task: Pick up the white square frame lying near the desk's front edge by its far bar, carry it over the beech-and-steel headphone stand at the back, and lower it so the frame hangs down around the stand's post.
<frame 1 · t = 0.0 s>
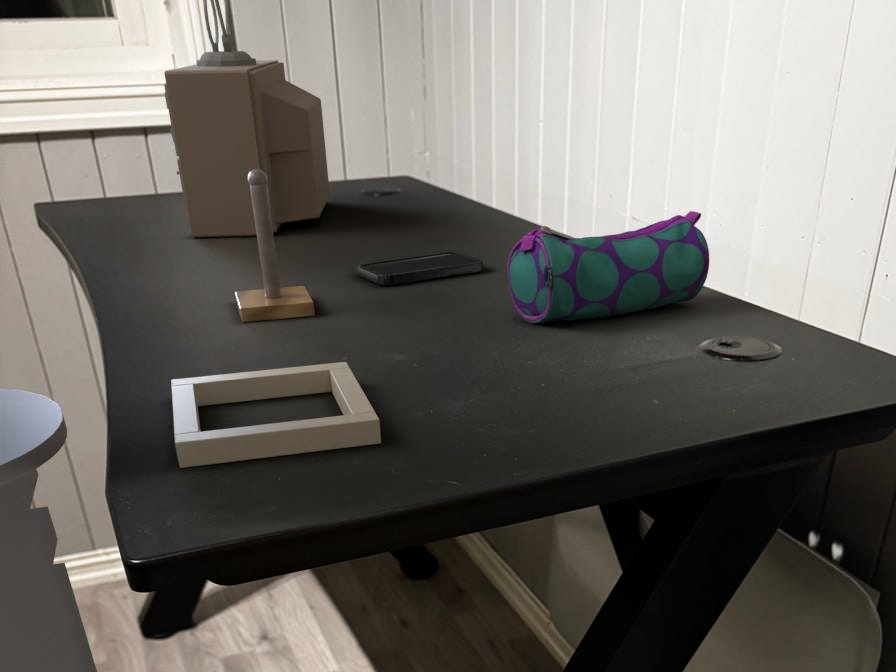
phone: (421, 274, 121), on the table
pencil case: (607, 315, 104), on the table
white square frame: (272, 421, 77), on the table
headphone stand: (275, 310, 107), on the table
television: (265, 217, 158), on the table
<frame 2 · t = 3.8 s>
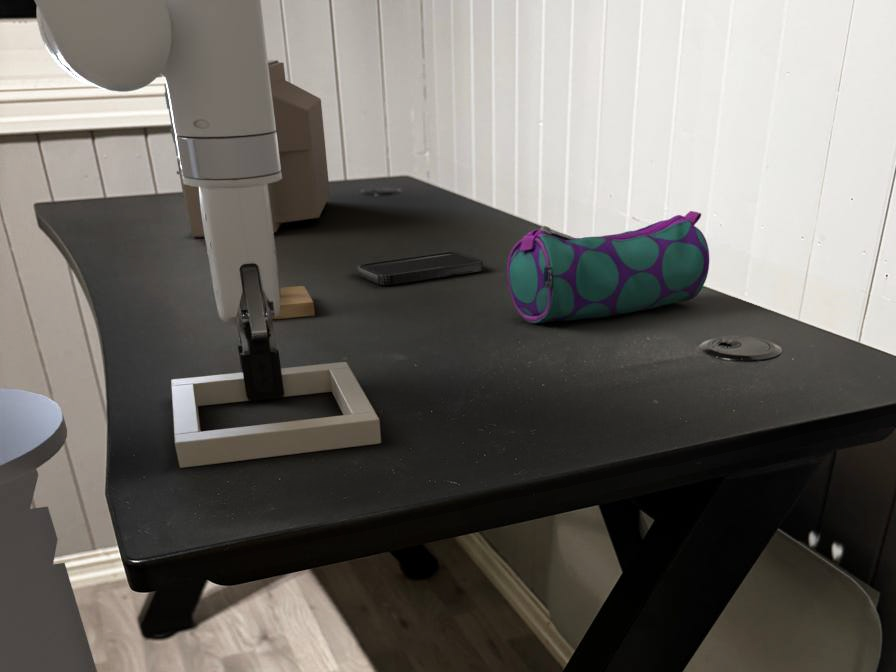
hand: (264, 392, 82), 0 cm above the table, tool pointing down, fingers closed on white square frame, 1 cm apart
white square frame: (272, 421, 77), on the table, touching gripper
everything else where it was.
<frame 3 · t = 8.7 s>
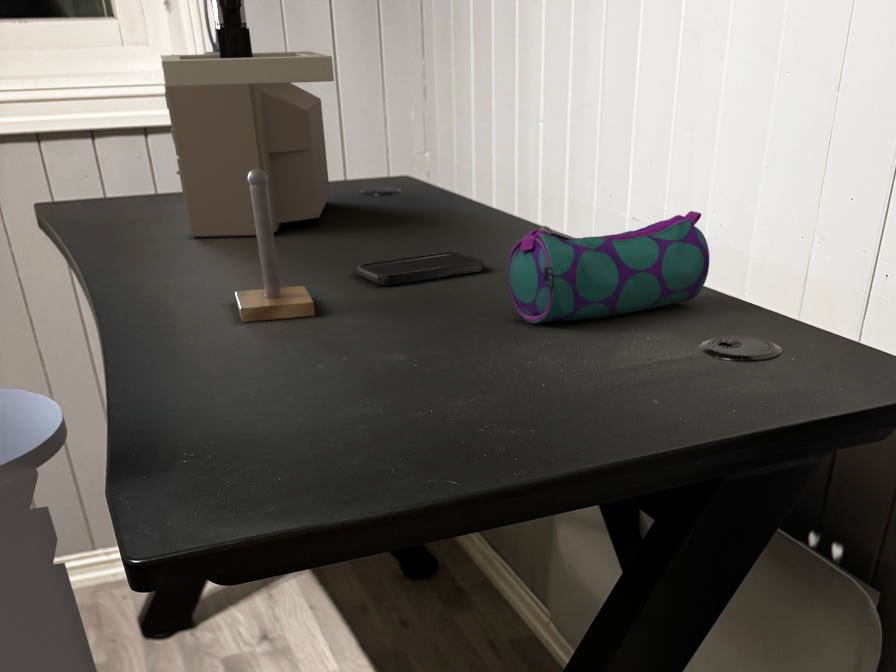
hand: (237, 73, 97), 23 cm above the table, tool pointing down, fingers closed on white square frame
white square frame: (245, 79, 92), point 23 cm above the table, touching gripper
everything else where it was.
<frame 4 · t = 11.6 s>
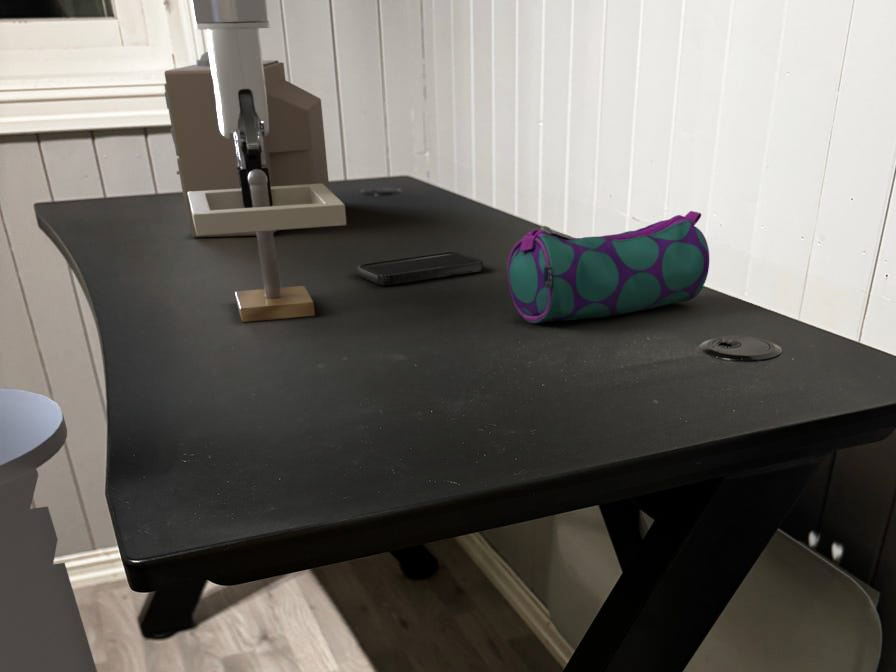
hand: (257, 205, 107), 10 cm above the table, tool pointing down, fingers closed on white square frame
white square frame: (265, 217, 101), point 10 cm above the table, touching gripper
everything else where it was.
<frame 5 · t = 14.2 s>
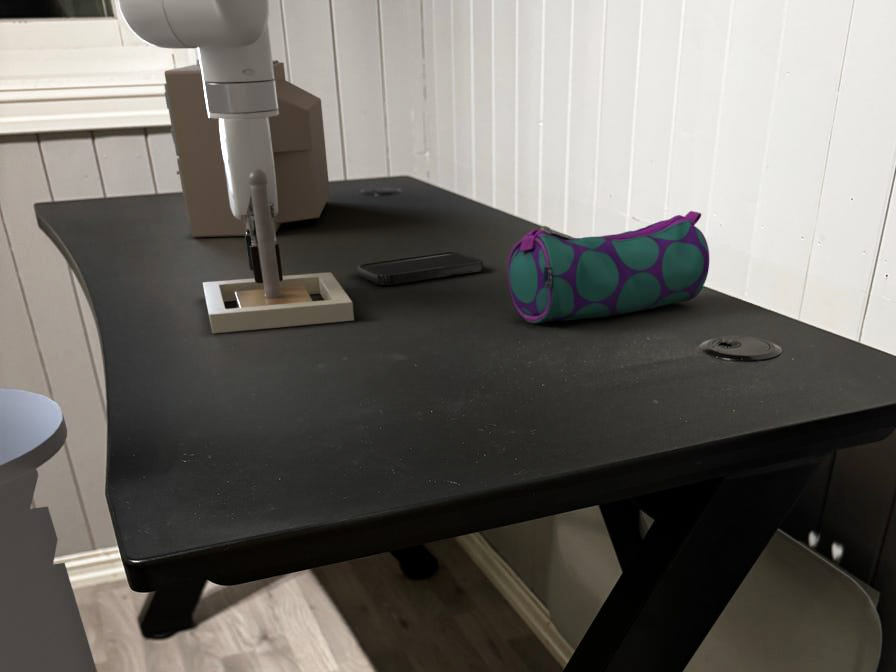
hand: (266, 274, 111), 3 cm above the table, tool pointing down, fingers open, 5 cm apart
white square frame: (276, 309, 107), on the table
everything else where it was.
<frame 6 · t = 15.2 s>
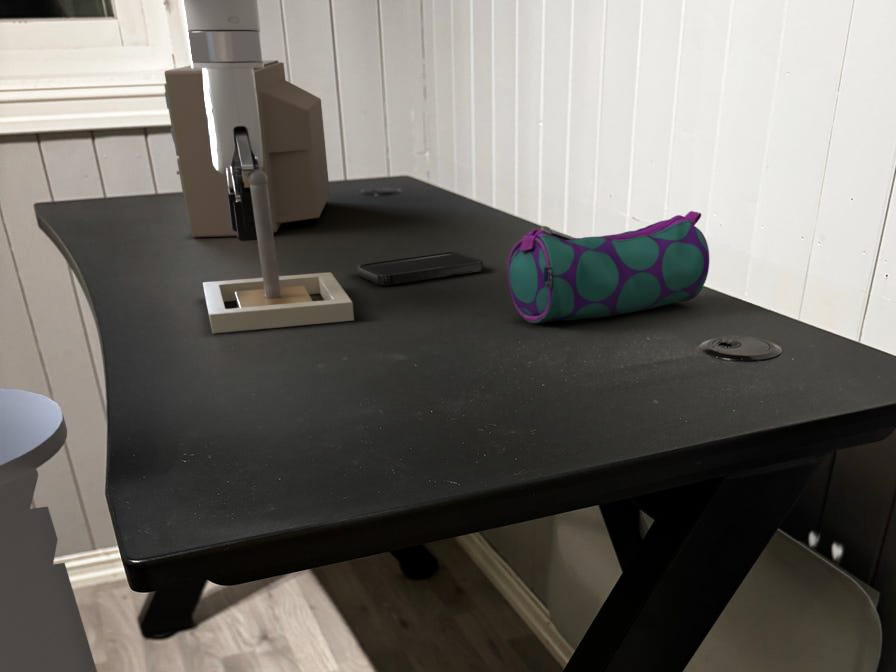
hand: (249, 233, 108), 7 cm above the table, tool pointing down, fingers open, 6 cm apart
nothing on the table moved.
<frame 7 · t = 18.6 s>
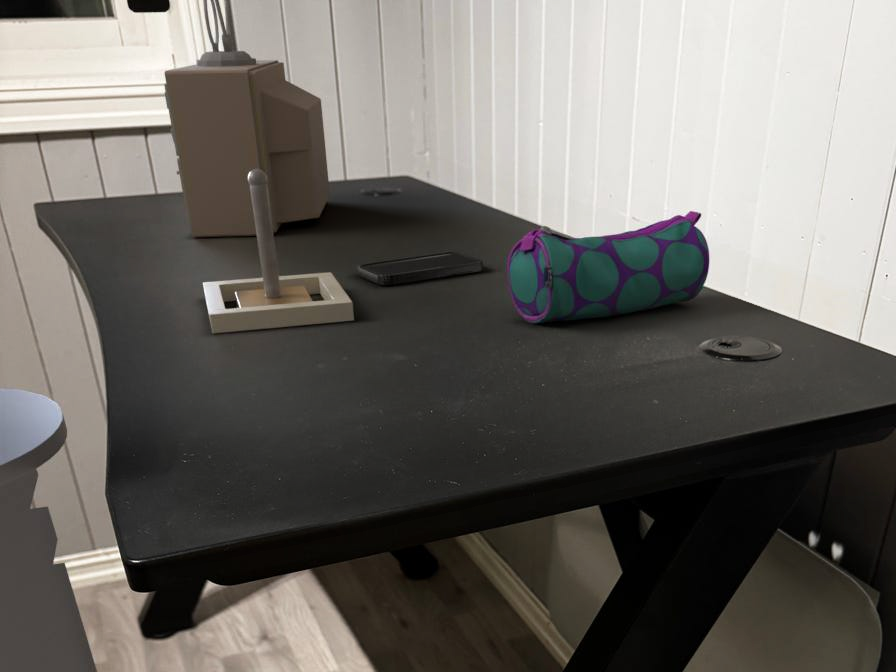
hand: (150, 11, 78), 28 cm above the table, tool pointing down, fingers open, 9 cm apart
nothing on the table moved.
at the end: white square frame 0.2 cm off-centre on the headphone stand, point 0.0 cm above the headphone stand's base; the gripper is holding nothing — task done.
